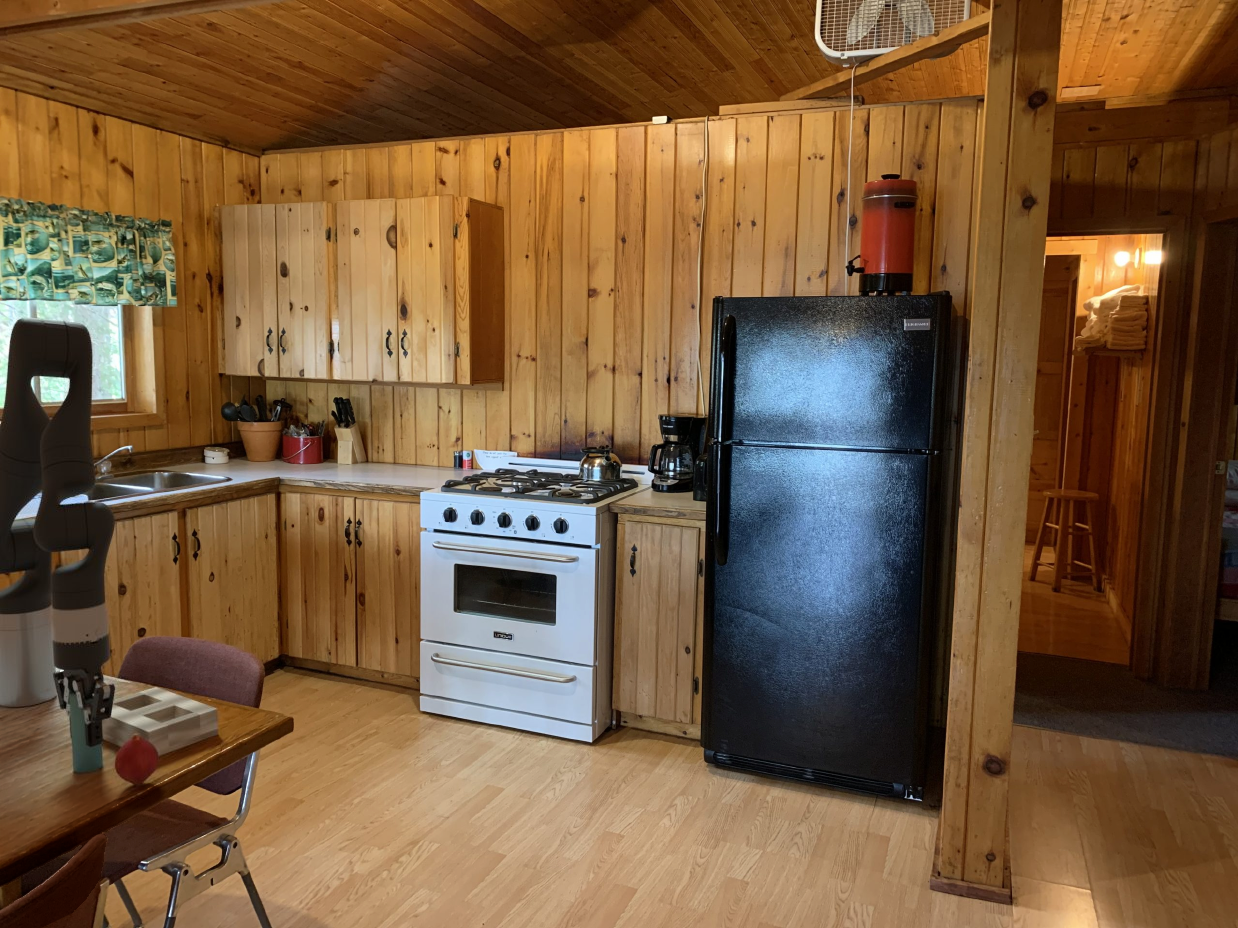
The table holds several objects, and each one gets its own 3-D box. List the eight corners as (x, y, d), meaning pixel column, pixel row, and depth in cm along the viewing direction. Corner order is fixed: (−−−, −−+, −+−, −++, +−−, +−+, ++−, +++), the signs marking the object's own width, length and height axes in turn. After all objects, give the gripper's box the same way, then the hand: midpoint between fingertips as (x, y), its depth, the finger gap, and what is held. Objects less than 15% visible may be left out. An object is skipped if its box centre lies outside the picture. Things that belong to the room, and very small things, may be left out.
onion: (110, 784, 141) (107, 732, 140) (151, 772, 145) (149, 722, 144) (123, 797, 137) (120, 744, 136) (165, 785, 141) (163, 733, 140)
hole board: (89, 733, 159) (87, 707, 159) (157, 711, 169) (156, 686, 169) (150, 759, 150) (148, 731, 149) (218, 734, 159) (217, 708, 159)
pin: (68, 768, 146) (63, 693, 144) (94, 759, 149) (90, 685, 148) (81, 775, 144) (77, 698, 142) (108, 765, 147) (104, 691, 146)
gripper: (31, 631, 145) (37, 738, 147) (80, 647, 137) (86, 761, 139) (81, 620, 151) (87, 723, 153) (130, 635, 143) (136, 743, 145)
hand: (86, 740), depth 146 cm, fingers closed on pin, 4 cm apart
